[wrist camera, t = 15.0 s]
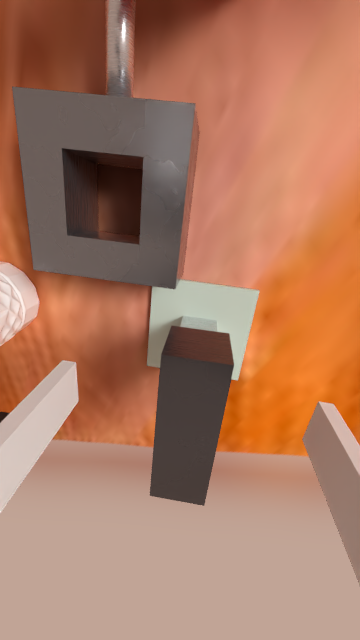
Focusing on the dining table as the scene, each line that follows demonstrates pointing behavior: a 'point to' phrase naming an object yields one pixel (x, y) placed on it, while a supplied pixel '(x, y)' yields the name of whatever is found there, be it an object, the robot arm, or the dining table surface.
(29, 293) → the white cup
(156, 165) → the block
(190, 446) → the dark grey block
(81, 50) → the dining table surface
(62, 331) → the dining table surface
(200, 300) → the mat
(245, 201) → the dining table surface
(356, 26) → the dining table surface
